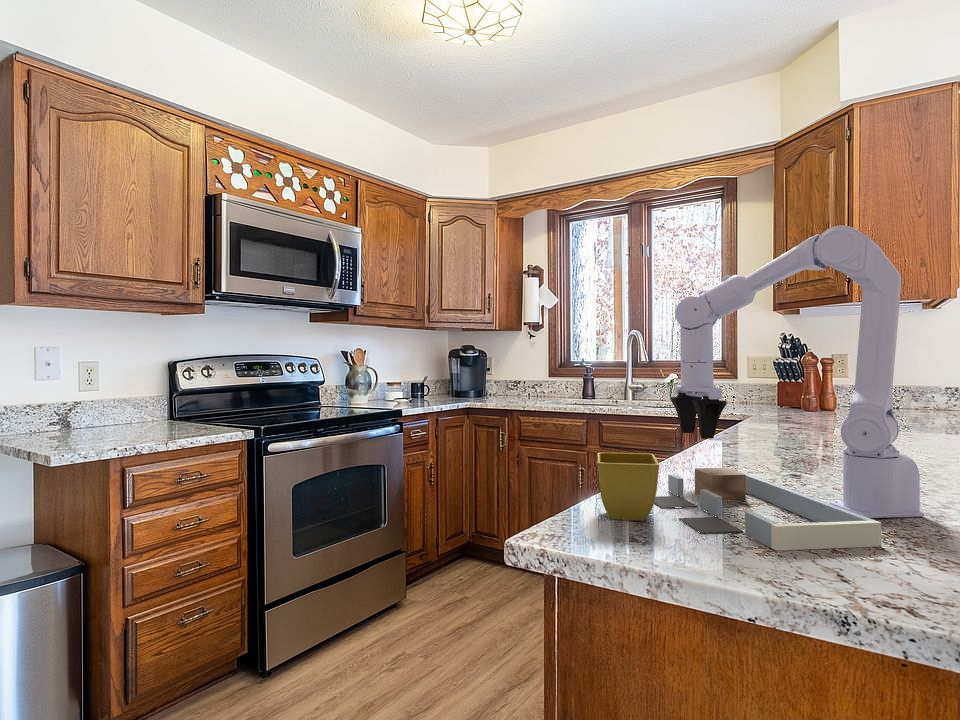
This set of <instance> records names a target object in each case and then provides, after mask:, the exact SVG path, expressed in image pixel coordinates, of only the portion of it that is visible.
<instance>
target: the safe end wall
mask: <svg viewBox="0 0 960 720" xmlns="http://www.w3.org/2000/svg"><path fill="white" fill-rule="evenodd" d="M771 547H772V548H771ZM771 547H770V548H771V549H773V550H774V551H798V550H799V551H802V550H804V551H805V550H821V549H822V550H824V549H825V550H826V549H827V550H828V549H850V548H851V549H852V548H870V547H871V548H872V547H873V548H875V547H876V548H877V547H882V522H880V521H877V520H876V519H873V520H872V521H845V522H818V523H817V522H801V523H800V522H798V523H797V522H795V523H794V522H793V523H778V524H771Z"/></svg>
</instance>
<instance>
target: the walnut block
mask: <svg viewBox="0 0 960 720" xmlns="http://www.w3.org/2000/svg"><path fill="white" fill-rule="evenodd" d="M740 472H741V471H737V470H735V469H731V468H729V467H707V468H705V467H704V468H703V467H702V468H694V494H696V495H698V496H700V490H701V489H706V490H708V491H710V492H712V493H715V494H717V495H719V496H721V497H722V502H736V501H738V502H739V501H746V500H747V493H746V474H747V473H746V474H743V473H744V472H743V473H740Z"/></svg>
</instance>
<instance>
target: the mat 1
mask: <svg viewBox="0 0 960 720" xmlns="http://www.w3.org/2000/svg"><path fill="white" fill-rule="evenodd" d="M653 505H656V506H657V507H658V508H660V507H661V508H660V509H662V508H670V509H676V508H675V507H698V508H699V505H697V504H695V503H694V502H692V501H689V500H688V499H686V498H684V497H683V496H677V495H665V496H664V495H661V496H657V495H656V497H655V501H654V504H653Z"/></svg>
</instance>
